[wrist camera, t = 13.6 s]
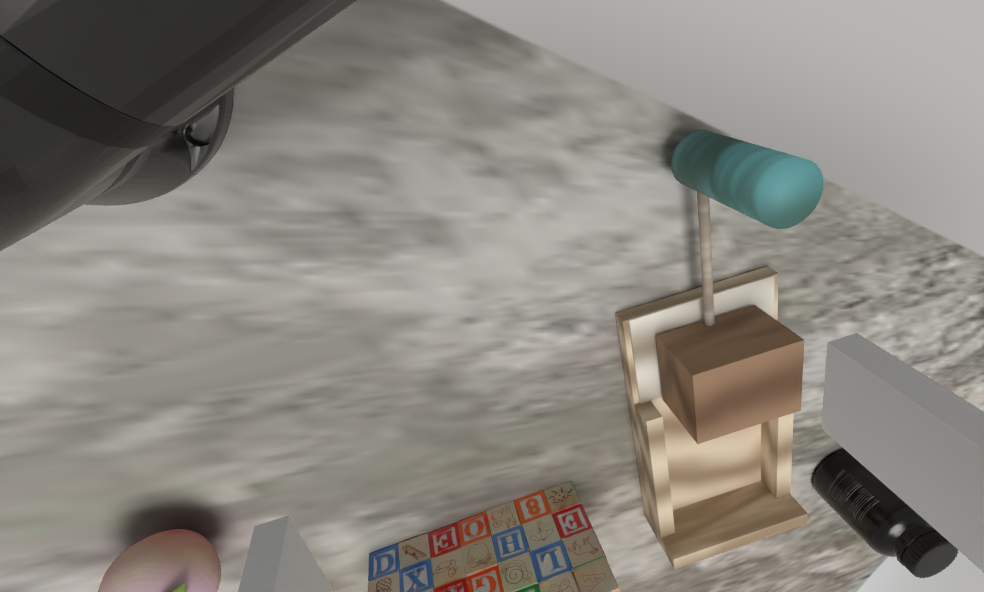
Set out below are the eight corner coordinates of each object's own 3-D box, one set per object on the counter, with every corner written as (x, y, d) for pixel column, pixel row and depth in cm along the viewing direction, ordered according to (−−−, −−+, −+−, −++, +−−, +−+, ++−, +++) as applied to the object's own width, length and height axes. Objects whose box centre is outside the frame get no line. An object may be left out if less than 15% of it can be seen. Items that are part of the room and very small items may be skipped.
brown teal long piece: (635, 148, 38) (714, 183, 29) (754, 114, 38) (867, 137, 29) (662, 399, 48) (726, 480, 40) (754, 369, 49) (837, 443, 40)
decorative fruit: (144, 488, 44) (85, 600, 36) (245, 509, 47) (215, 618, 39) (114, 564, 47) (53, 686, 38) (211, 581, 50) (176, 697, 41)
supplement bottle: (818, 501, 63) (908, 596, 52) (803, 468, 59) (896, 561, 49) (871, 471, 62) (972, 561, 51) (859, 435, 59) (965, 523, 48)
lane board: (615, 313, 46) (649, 353, 40) (766, 266, 47) (821, 298, 41) (645, 516, 58) (674, 569, 52) (764, 476, 59) (806, 523, 53)
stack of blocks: (390, 589, 56) (393, 724, 45) (367, 552, 53) (364, 686, 42) (584, 518, 56) (633, 634, 46) (572, 478, 54) (621, 590, 43)
